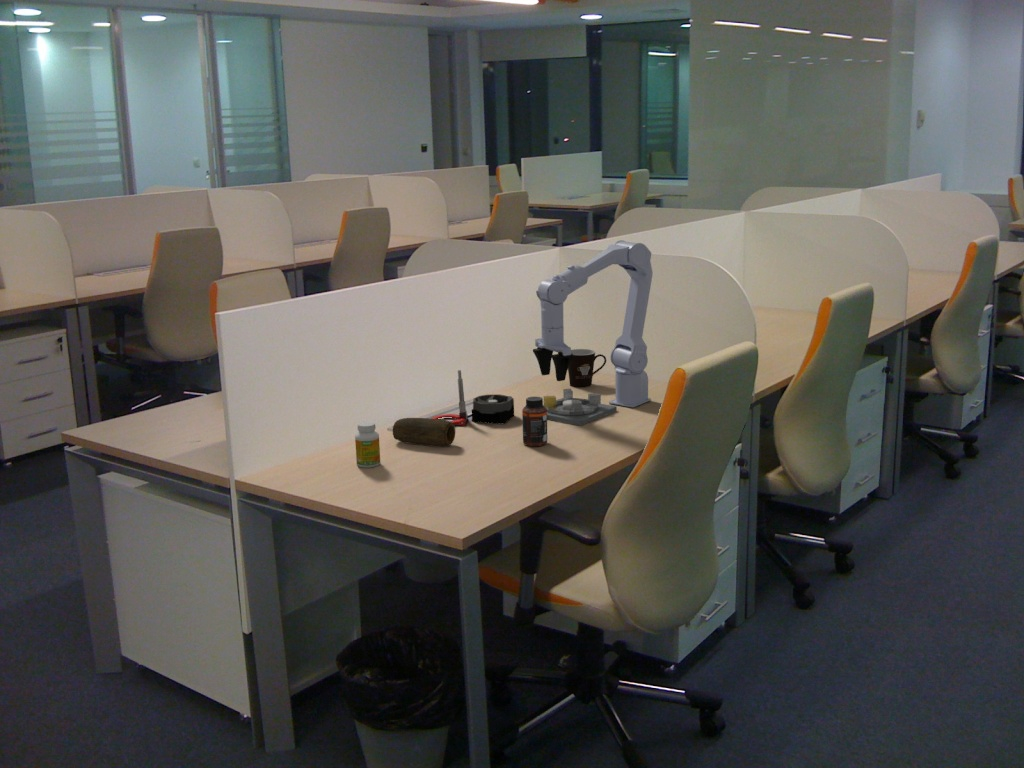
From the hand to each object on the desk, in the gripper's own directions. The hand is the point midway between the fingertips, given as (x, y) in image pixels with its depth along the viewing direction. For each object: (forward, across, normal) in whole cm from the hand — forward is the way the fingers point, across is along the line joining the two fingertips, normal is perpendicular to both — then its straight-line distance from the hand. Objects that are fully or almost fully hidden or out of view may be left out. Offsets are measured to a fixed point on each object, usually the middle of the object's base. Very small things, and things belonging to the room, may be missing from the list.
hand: (553, 377), depth 260 cm
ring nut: (+9, +1, +6) cm, 11 cm away
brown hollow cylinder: (+11, +3, -39) cm, 40 cm away
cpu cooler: (+11, -7, -15) cm, 19 cm away
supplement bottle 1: (+10, +11, -56) cm, 58 cm away
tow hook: (+11, -10, -26) cm, 30 cm away
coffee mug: (+11, -23, +25) cm, 35 cm away
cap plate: (+10, +1, +6) cm, 12 cm away
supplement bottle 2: (+11, +18, -16) cm, 27 cm away
